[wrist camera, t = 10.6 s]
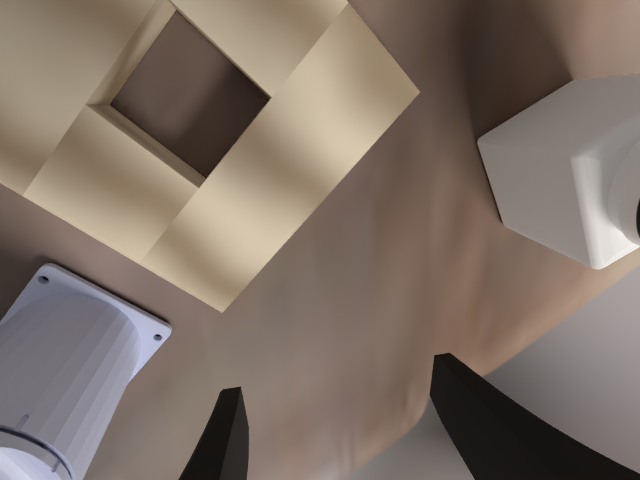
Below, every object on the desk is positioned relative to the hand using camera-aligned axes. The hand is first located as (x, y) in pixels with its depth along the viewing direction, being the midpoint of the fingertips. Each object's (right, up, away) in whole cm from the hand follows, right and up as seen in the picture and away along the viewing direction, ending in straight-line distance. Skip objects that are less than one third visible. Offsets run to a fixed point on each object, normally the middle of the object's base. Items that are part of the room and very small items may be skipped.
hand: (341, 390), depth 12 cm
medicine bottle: (+14, +11, +10) cm, 20 cm away
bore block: (-7, +13, +5) cm, 15 cm away
